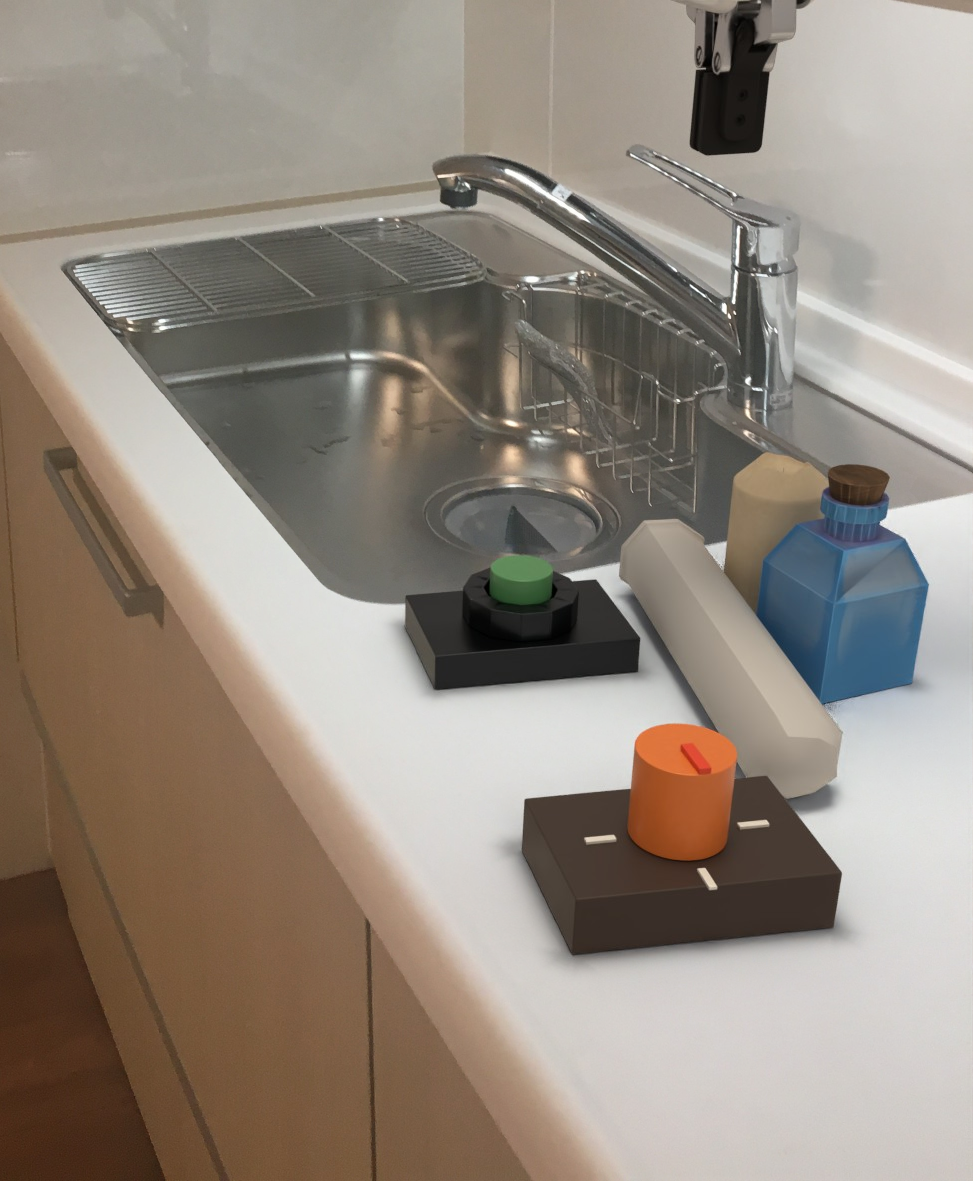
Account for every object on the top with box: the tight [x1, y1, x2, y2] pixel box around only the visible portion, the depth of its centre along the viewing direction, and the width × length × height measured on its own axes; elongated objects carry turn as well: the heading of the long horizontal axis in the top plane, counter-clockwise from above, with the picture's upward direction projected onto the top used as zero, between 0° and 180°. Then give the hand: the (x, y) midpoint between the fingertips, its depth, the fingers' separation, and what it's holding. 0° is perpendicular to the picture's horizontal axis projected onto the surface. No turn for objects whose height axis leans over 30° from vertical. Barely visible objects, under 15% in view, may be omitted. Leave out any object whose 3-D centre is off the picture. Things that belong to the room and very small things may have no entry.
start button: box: [489, 554, 554, 605], centre depth 94 cm, size 4×4×2 cm
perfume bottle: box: [756, 463, 930, 705], centre depth 90 cm, size 6×6×12 cm
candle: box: [723, 451, 829, 615], centre depth 97 cm, size 6×6×10 cm
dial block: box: [521, 776, 843, 955], centre depth 74 cm, size 12×9×3 cm
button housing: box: [404, 567, 641, 690], centre depth 95 cm, size 12×8×4 cm, turn 96°
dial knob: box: [627, 723, 738, 861], centre depth 73 cm, size 4×4×5 cm
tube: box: [618, 518, 844, 800], centre depth 90 cm, size 5×5×25 cm
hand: (724, 150), depth 83 cm, fingers closed
